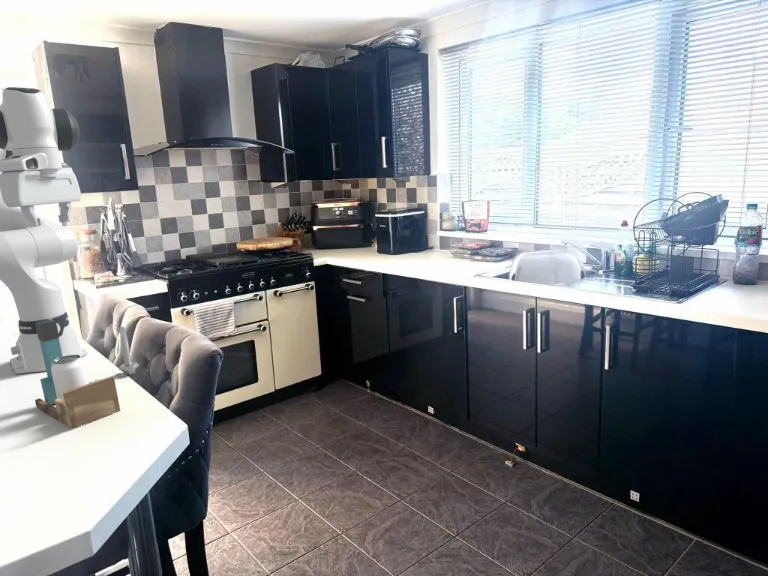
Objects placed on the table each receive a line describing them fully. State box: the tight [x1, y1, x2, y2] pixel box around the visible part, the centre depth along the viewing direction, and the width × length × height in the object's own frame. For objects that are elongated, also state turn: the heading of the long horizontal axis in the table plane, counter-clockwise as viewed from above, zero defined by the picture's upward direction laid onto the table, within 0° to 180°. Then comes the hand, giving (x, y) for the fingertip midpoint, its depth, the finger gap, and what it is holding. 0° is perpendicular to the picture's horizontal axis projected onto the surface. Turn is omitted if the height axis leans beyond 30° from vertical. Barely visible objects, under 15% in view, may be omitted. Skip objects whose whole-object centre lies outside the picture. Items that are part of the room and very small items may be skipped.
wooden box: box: [34, 375, 121, 430], centre depth 121 cm, size 20×10×8 cm, turn 51°
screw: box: [118, 326, 140, 376], centre depth 141 cm, size 13×5×5 cm
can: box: [51, 355, 89, 401], centre depth 121 cm, size 6×6×12 cm
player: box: [35, 319, 63, 405], centre depth 125 cm, size 3×6×19 cm, turn 141°
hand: (50, 224), depth 124 cm, fingers open, 8 cm apart
